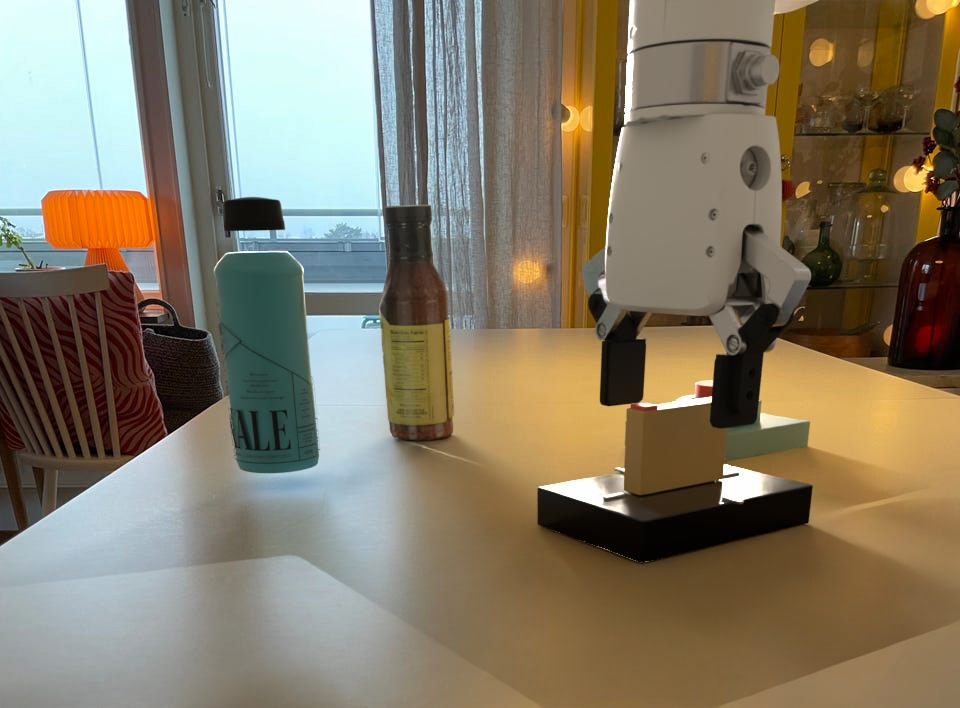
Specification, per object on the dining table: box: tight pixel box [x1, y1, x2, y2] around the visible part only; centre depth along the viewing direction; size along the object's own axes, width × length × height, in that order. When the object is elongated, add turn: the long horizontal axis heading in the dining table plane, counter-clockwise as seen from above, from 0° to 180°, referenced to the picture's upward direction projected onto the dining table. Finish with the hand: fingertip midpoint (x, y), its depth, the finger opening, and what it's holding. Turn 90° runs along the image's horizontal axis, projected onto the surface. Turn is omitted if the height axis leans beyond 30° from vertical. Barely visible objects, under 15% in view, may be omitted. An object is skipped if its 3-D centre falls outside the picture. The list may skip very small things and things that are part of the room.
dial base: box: [536, 464, 814, 563], centre depth 61 cm, size 14×11×3 cm
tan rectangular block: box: [623, 397, 727, 495], centre depth 60 cm, size 7×2×5 cm, turn 123°
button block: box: [624, 394, 811, 462], centre depth 83 cm, size 12×10×4 cm
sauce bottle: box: [378, 204, 456, 442], centre depth 87 cm, size 7×6×20 cm
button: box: [694, 379, 713, 399], centre depth 82 cm, size 4×4×2 cm
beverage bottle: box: [213, 196, 321, 474], centre depth 70 cm, size 6×7×20 cm
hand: (673, 414), depth 59 cm, fingers open, 9 cm apart
